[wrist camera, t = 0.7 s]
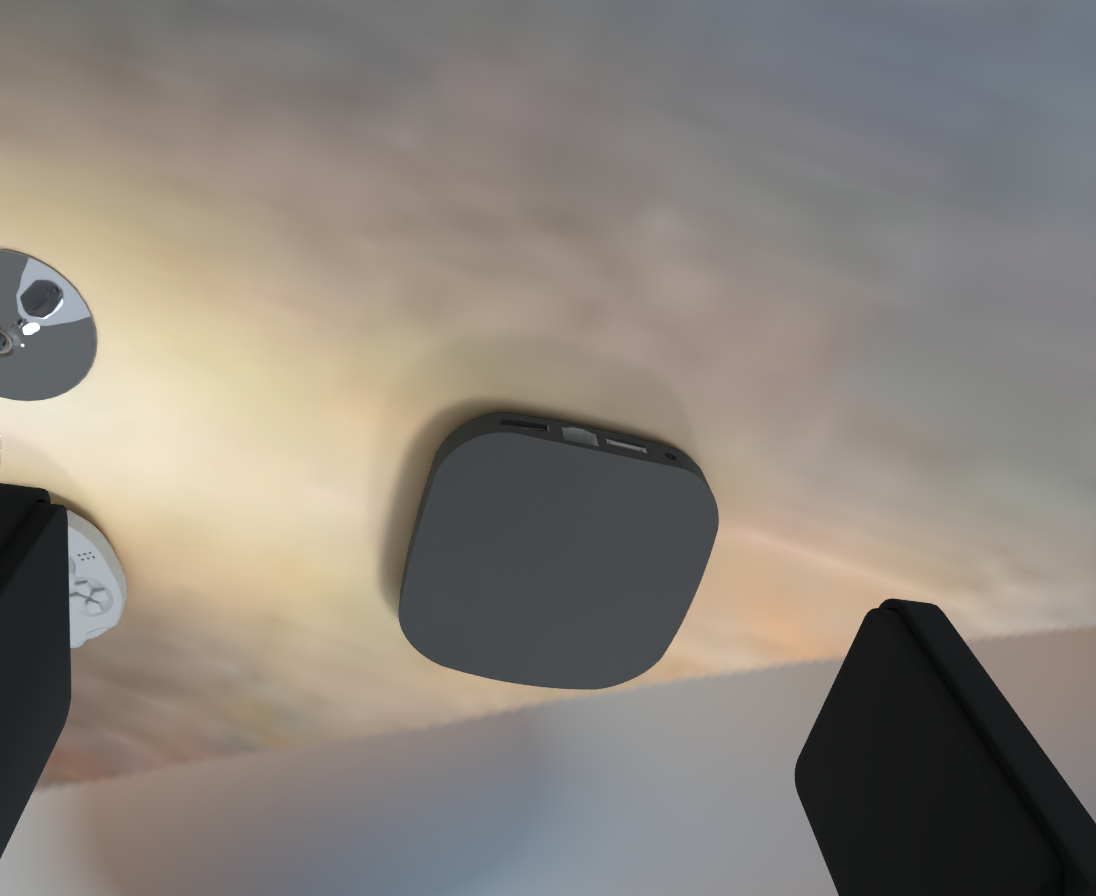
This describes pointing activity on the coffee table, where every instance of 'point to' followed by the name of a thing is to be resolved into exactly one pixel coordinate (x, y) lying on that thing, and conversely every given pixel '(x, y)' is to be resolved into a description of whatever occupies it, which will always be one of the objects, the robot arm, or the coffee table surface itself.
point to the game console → (92, 582)
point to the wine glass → (41, 331)
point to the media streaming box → (554, 553)
